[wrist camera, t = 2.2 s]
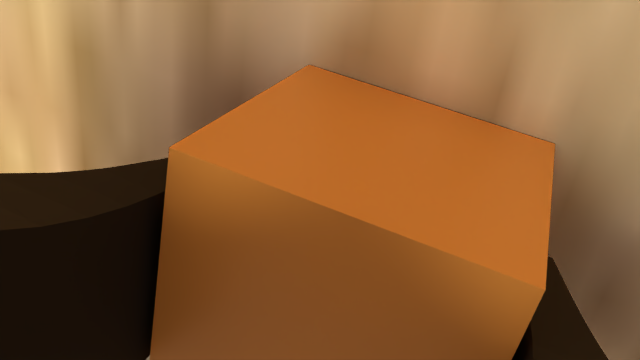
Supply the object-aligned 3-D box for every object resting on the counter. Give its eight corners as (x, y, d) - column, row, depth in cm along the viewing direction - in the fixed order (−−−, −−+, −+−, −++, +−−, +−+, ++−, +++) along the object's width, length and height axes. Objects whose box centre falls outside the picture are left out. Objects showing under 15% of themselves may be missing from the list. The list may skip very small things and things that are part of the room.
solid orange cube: (555, 143, 11) (545, 289, 7) (469, 342, 13) (422, 543, 9) (309, 64, 12) (169, 147, 8) (269, 260, 15) (145, 405, 10)
